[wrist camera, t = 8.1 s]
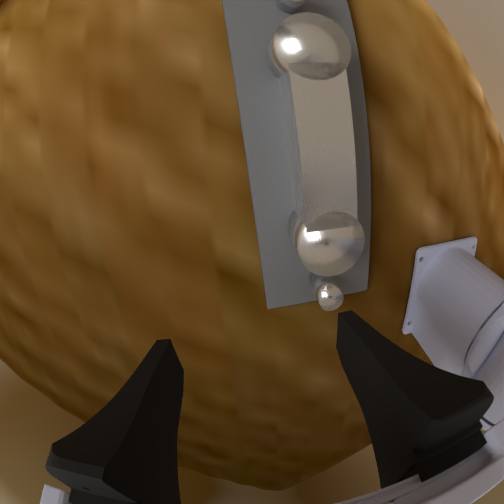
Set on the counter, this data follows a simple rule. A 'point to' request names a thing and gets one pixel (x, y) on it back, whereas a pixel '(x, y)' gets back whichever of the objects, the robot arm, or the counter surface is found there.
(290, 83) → the ball knob lever
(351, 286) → the grey metal plate
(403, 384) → the robot arm
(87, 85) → the counter surface
